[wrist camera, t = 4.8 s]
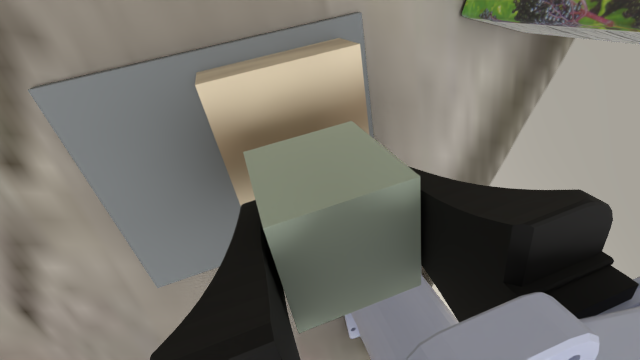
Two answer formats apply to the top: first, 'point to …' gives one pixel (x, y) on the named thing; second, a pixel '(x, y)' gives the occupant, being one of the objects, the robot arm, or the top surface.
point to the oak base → (281, 100)
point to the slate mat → (167, 146)
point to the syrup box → (563, 17)
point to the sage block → (337, 221)
